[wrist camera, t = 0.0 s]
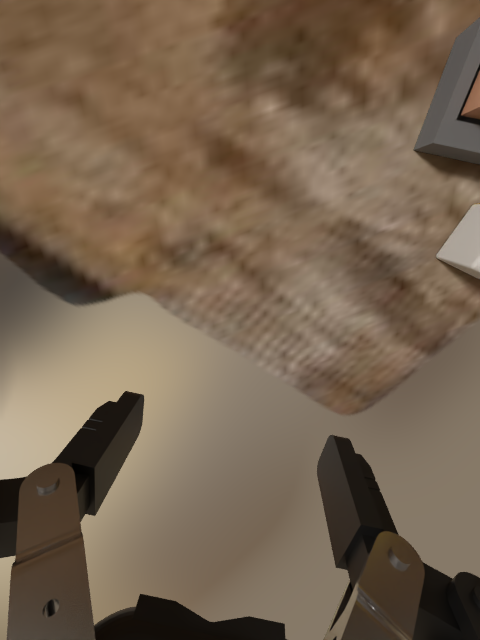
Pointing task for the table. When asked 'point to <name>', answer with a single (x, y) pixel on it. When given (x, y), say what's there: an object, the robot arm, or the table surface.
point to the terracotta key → (473, 101)
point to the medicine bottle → (464, 244)
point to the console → (455, 104)
